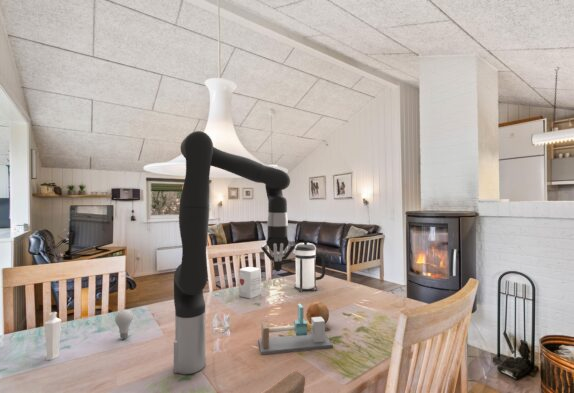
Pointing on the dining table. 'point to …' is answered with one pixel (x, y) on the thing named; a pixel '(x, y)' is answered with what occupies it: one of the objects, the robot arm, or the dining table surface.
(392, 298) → the dining table surface
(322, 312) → the onion
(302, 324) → the light blue bracket block
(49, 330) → the perfume bottle
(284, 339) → the grey rod holder stand
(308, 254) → the coffee press
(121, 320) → the lightbulb
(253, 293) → the supplement box
